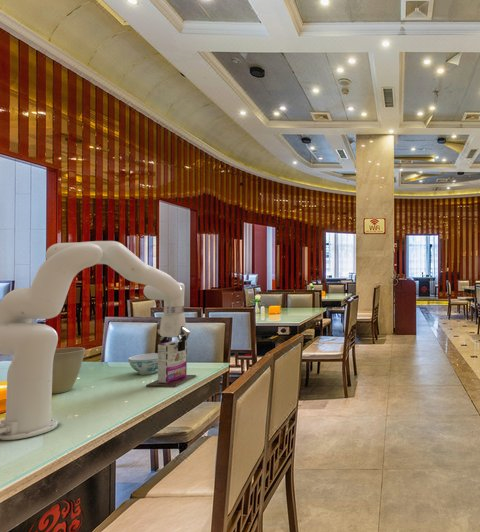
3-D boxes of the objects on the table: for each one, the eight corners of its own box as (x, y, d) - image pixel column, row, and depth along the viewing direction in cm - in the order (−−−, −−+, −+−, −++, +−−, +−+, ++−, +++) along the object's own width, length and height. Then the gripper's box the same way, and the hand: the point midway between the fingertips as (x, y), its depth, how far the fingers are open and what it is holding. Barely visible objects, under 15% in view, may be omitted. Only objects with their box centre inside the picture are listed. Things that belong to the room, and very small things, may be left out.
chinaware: (127, 378, 165) (128, 361, 165) (127, 371, 177) (128, 355, 177) (167, 373, 174) (167, 357, 174) (165, 367, 186) (165, 351, 186)
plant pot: (93, 387, 152) (94, 348, 152) (49, 398, 138) (51, 355, 138) (67, 384, 156) (68, 346, 157) (23, 394, 142) (24, 353, 143)
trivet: (175, 386, 154) (175, 385, 154) (146, 386, 154) (146, 384, 154) (195, 376, 170) (195, 374, 170) (169, 376, 170) (169, 374, 170)
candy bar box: (177, 375, 168) (178, 339, 168) (186, 376, 167) (187, 339, 167) (156, 382, 157) (157, 343, 157) (166, 383, 156) (167, 344, 156)
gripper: (151, 310, 162) (150, 350, 161) (181, 312, 156) (180, 352, 156) (166, 309, 169) (165, 347, 168) (196, 310, 163) (195, 349, 163)
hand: (172, 349), depth 162 cm, fingers open, 9 cm apart
